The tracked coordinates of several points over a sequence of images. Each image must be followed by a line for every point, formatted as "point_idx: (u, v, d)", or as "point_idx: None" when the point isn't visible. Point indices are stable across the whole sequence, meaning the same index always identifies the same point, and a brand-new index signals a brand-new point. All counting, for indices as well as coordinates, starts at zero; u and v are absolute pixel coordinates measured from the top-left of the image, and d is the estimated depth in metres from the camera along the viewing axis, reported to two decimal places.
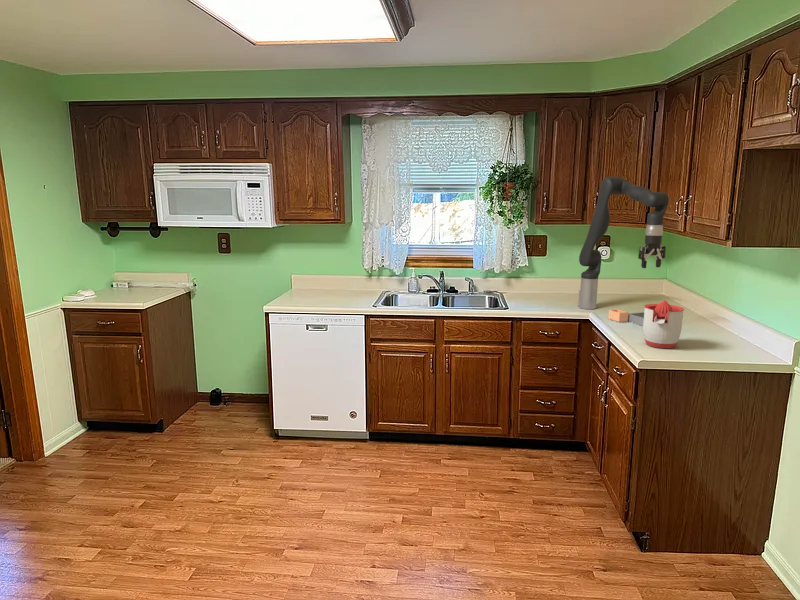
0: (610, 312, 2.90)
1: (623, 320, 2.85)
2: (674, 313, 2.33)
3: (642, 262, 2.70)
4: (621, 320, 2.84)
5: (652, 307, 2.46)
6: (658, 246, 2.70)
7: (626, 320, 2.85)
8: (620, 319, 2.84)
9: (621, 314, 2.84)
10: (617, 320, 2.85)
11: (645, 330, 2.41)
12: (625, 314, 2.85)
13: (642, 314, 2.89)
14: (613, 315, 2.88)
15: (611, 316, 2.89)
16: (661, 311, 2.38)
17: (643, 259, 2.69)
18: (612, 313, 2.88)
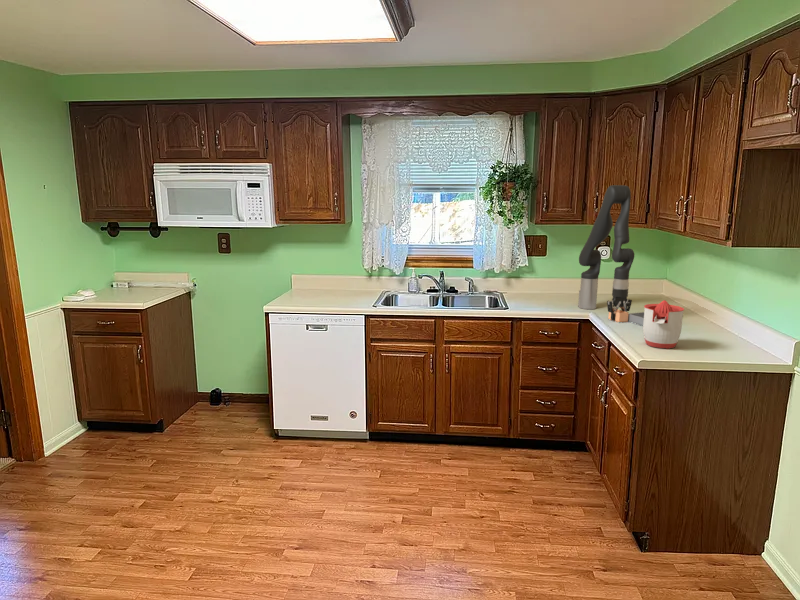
0: (610, 312, 2.90)
1: (623, 320, 2.85)
2: (674, 313, 2.33)
3: (611, 315, 2.87)
4: (621, 320, 2.84)
5: (652, 307, 2.46)
6: (625, 298, 2.86)
7: (626, 320, 2.85)
8: (620, 319, 2.84)
9: (621, 314, 2.84)
10: (617, 320, 2.85)
11: (645, 330, 2.41)
12: (625, 314, 2.85)
13: (642, 314, 2.89)
14: None
15: None
16: (661, 311, 2.38)
17: (612, 312, 2.86)
18: None
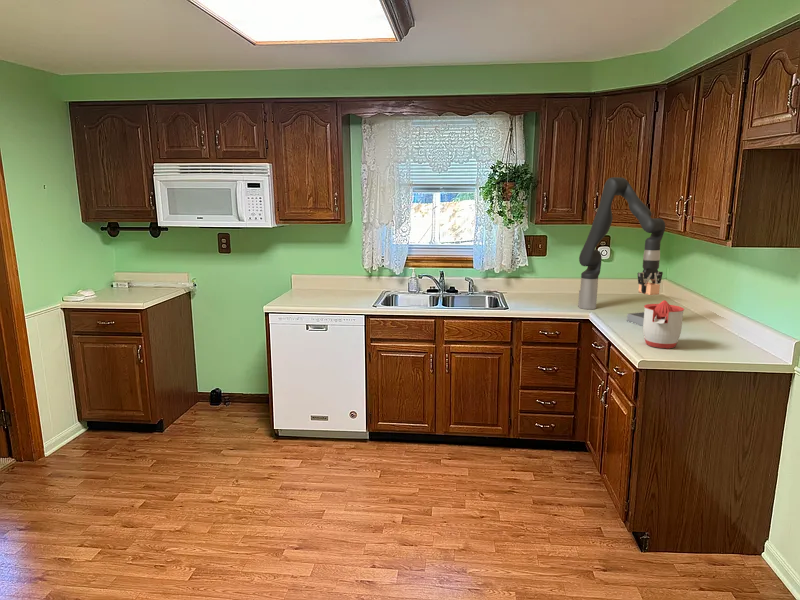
0: (640, 285, 2.82)
1: (654, 292, 2.77)
2: (674, 313, 2.33)
3: (642, 287, 2.79)
4: (652, 292, 2.77)
5: (652, 307, 2.46)
6: (656, 270, 2.79)
7: (657, 292, 2.78)
8: (651, 292, 2.76)
9: (652, 286, 2.76)
10: (648, 292, 2.77)
11: (645, 330, 2.41)
12: (656, 286, 2.77)
13: (642, 314, 2.89)
14: None
15: None
16: (661, 311, 2.38)
17: (643, 284, 2.78)
18: None
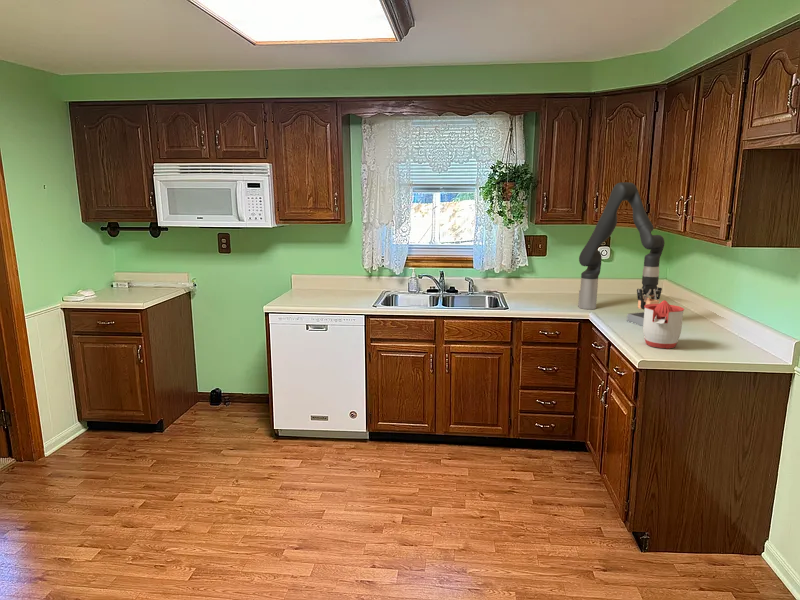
0: None
1: None
2: (674, 313, 2.33)
3: (641, 303, 2.81)
4: None
5: (652, 307, 2.46)
6: (655, 286, 2.80)
7: None
8: None
9: (652, 302, 2.78)
10: None
11: (645, 330, 2.41)
12: (656, 302, 2.79)
13: (642, 314, 2.89)
14: None
15: None
16: (661, 311, 2.38)
17: (642, 300, 2.80)
18: None
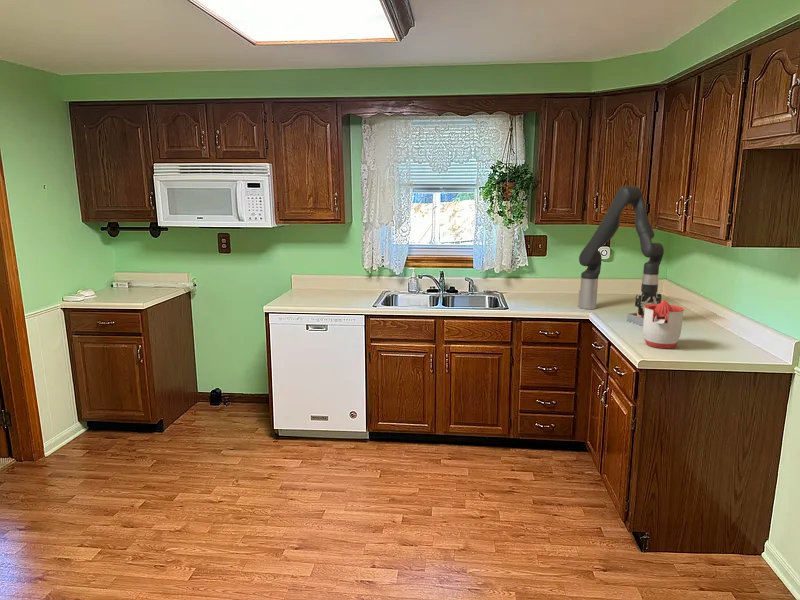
0: None
1: None
2: (674, 313, 2.33)
3: (639, 309, 2.81)
4: None
5: (652, 307, 2.46)
6: (654, 294, 2.81)
7: None
8: None
9: None
10: None
11: (645, 330, 2.41)
12: None
13: None
14: (641, 316, 2.83)
15: None
16: (661, 311, 2.38)
17: (640, 307, 2.80)
18: None
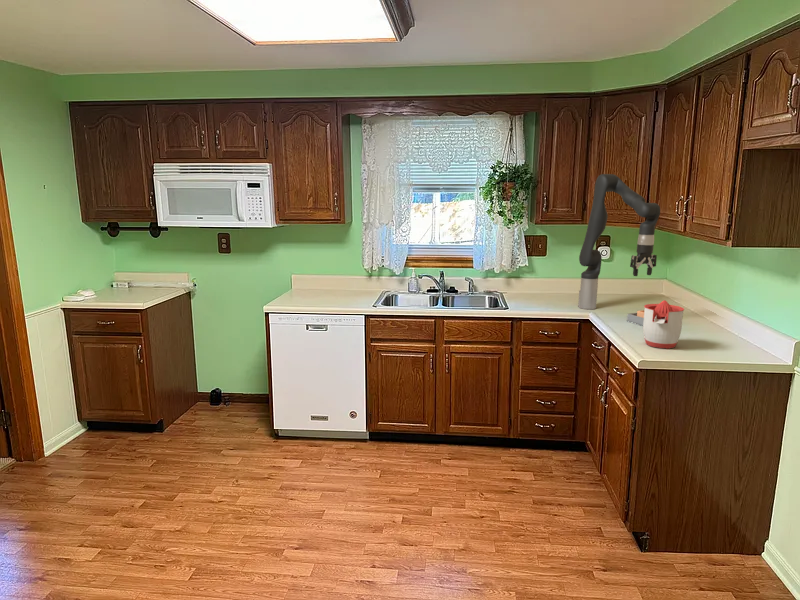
0: (638, 313, 2.85)
1: None
2: (674, 313, 2.33)
3: (634, 270, 2.80)
4: None
5: (652, 307, 2.46)
6: (649, 255, 2.80)
7: None
8: None
9: None
10: None
11: (645, 330, 2.41)
12: None
13: None
14: (641, 316, 2.83)
15: None
16: (661, 311, 2.38)
17: (635, 267, 2.79)
18: (641, 314, 2.84)
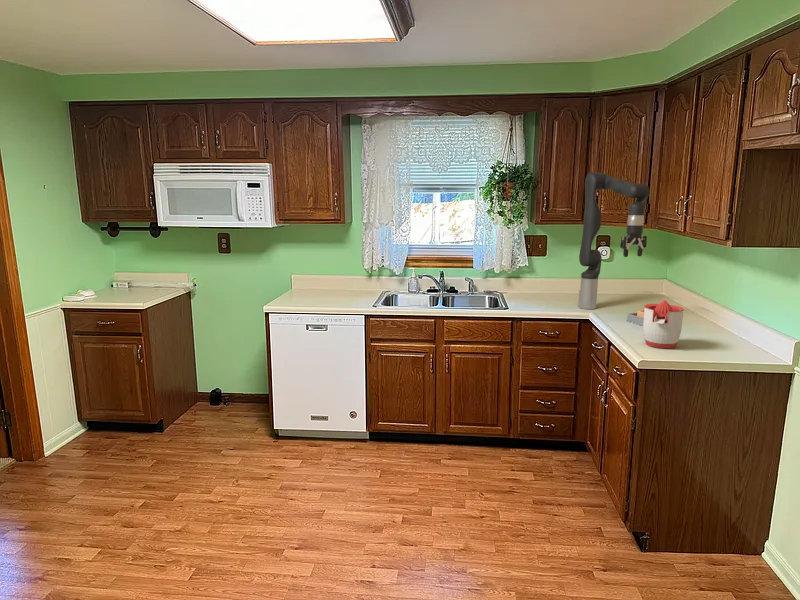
0: (638, 313, 2.85)
1: None
2: (674, 313, 2.33)
3: (624, 251, 2.81)
4: None
5: (652, 307, 2.46)
6: (639, 236, 2.81)
7: None
8: None
9: None
10: None
11: (645, 330, 2.41)
12: None
13: None
14: (641, 316, 2.83)
15: None
16: (661, 311, 2.38)
17: (625, 248, 2.80)
18: (641, 314, 2.84)
